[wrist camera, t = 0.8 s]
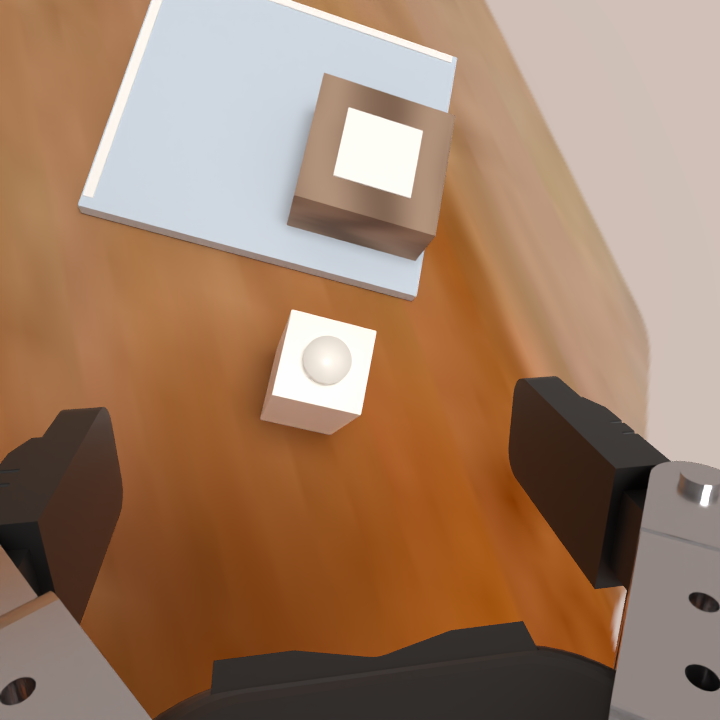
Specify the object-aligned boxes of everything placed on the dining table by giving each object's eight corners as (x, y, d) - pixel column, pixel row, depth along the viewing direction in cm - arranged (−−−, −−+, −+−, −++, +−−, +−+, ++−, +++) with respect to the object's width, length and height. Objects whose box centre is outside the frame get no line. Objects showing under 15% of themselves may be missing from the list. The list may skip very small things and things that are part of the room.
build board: (81, 212, 38) (61, 169, 33) (167, -31, 43) (161, -99, 38) (411, 301, 41) (437, 273, 37) (452, 66, 47) (479, 16, 42)
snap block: (259, 419, 37) (273, 392, 29) (276, 351, 38) (293, 305, 30) (330, 435, 38) (363, 413, 29) (343, 367, 39) (379, 327, 31)
